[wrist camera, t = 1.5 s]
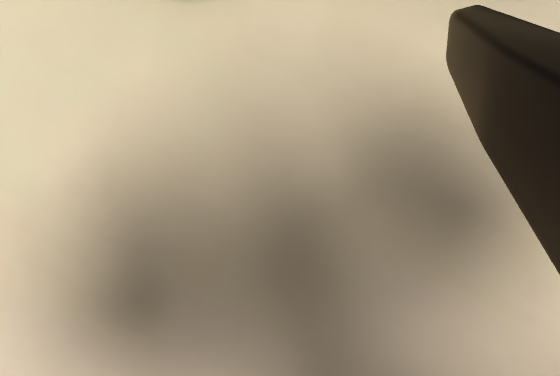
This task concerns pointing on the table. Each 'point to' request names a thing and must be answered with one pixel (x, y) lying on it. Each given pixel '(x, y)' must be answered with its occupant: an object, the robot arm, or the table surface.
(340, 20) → the table surface
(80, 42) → the table surface
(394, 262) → the table surface
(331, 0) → the table surface
